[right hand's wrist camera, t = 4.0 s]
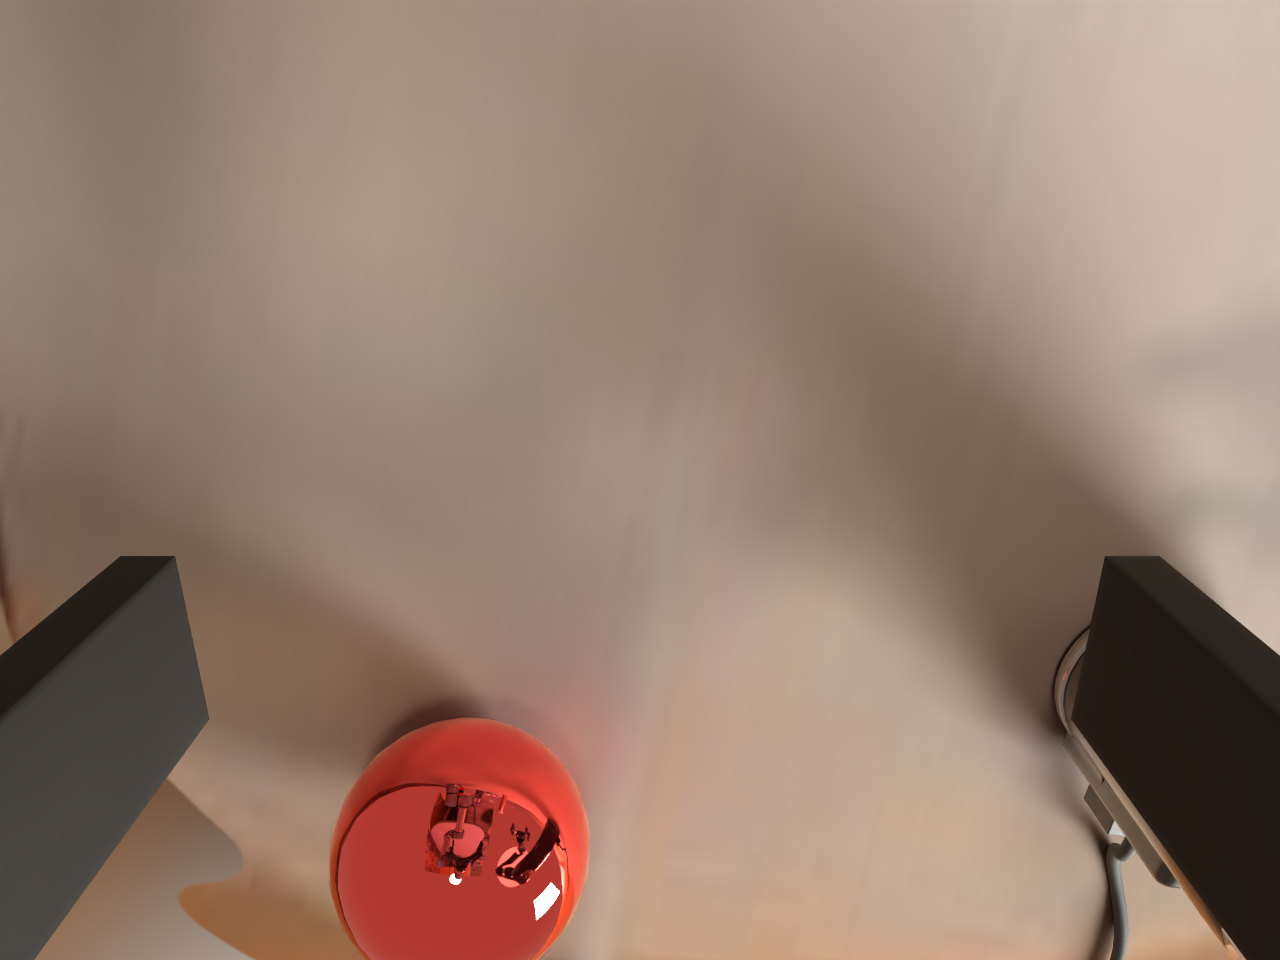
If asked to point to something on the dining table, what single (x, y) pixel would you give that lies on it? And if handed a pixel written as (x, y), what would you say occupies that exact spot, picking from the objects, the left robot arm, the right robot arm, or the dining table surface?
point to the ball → (459, 846)
